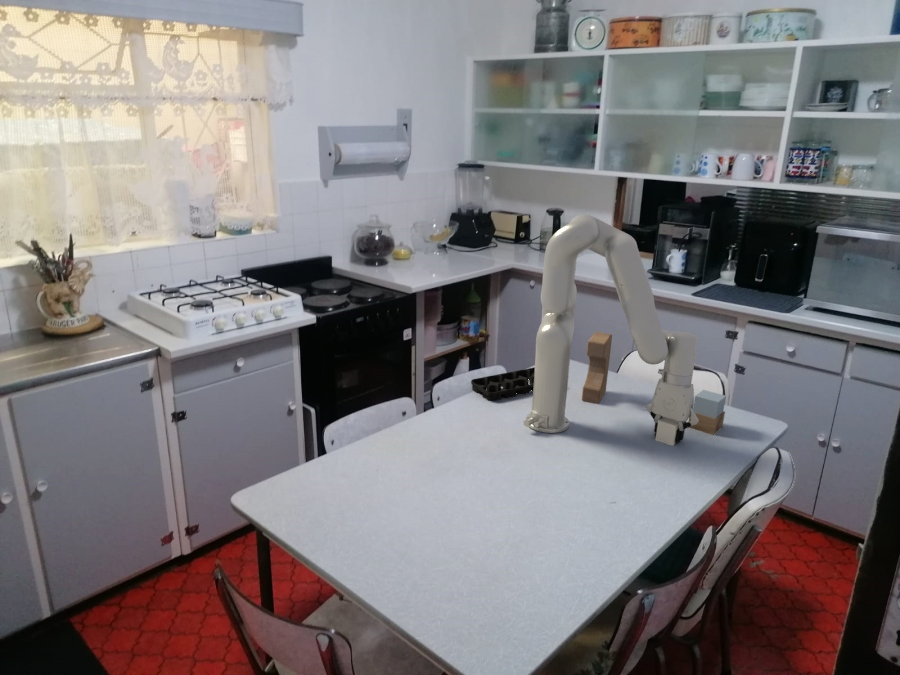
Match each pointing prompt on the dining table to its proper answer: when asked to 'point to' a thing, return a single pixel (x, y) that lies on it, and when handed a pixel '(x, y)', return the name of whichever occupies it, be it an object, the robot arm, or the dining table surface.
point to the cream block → (667, 430)
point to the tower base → (708, 423)
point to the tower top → (709, 403)
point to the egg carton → (504, 384)
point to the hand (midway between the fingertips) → (668, 437)
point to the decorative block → (597, 367)
